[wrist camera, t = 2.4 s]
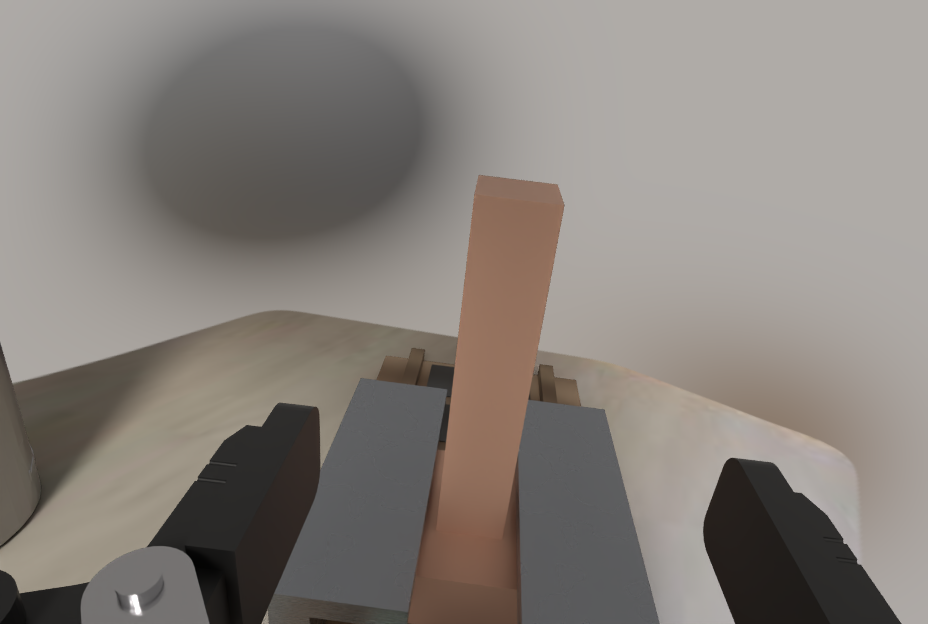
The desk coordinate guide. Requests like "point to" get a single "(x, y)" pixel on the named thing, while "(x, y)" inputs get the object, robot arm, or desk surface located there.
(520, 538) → the tunnel
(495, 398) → the pink post on block
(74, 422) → the desk surface
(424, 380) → the track board
